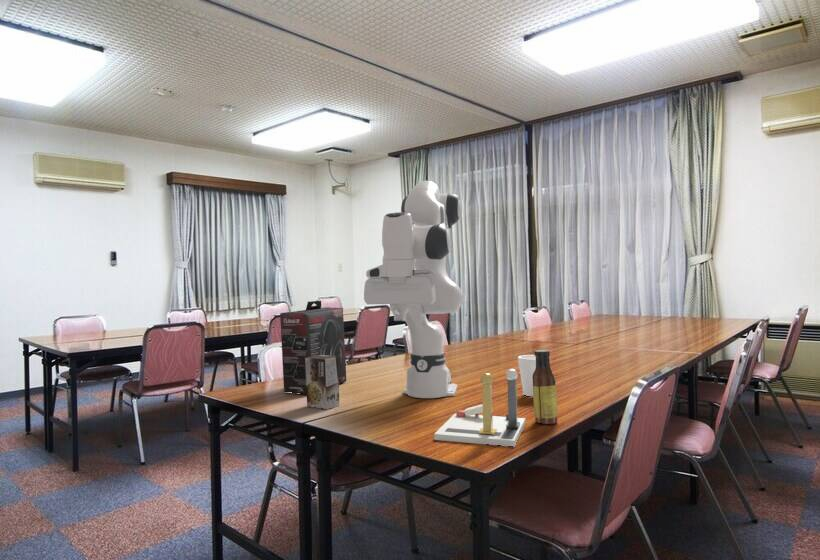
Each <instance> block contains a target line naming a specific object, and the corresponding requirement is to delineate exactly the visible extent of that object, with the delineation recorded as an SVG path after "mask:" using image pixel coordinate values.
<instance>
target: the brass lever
mask: <svg viewBox="0 0 820 560" xmlns="http://www.w3.org/2000/svg"><path fill="white" fill-rule="evenodd" d="M493 382H494V376H493V375H492V374H491V373H488V372H484V373H483V374H481V376H480V383H481V390H482V391H481V395H482V399H481V400H482V404H483V412H482V415H483V428H481V429H480V430H479V433H482V434H494V435H495V434H496V432H497V429H493V418H492V416H493V387H492V386H493V385H492V384H493Z"/></svg>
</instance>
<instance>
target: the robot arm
mask: <svg viewBox="0 0 820 560" xmlns="http://www.w3.org/2000/svg"><path fill="white" fill-rule="evenodd" d="M462 211H463V204H462V202H461V199H460V197H459V196H458V195H457V194H454V193H448V194H446V193H441V191H440V188H439V187H438V185H437V184H436V183H435V182H433V181H432V180H431V181H430V180H422V181H420V182H418V183H417V184H416V185H415V186H413V188H412V189H411V190H410V191H409V193H408V195H407V196H405V197H404V198H403V199H402V202H401V205H400V211H398V212H390V213H386V214H385V215H384V216H383V220H382V228H381V229H382V230H381V245H382V248H383V255H382V264H381V265H378V266H375V267H372V268H370V269H368V270H366V272H365V273H366V274H365V275H366V277H367V279H366V280H365V282H364V289H363V300H364V303H366V305H389V309H390V311H391V312H392V315H393V321H395V322H405V323H406V325H407V327H408V330H409V334H410V342H411V343H410V346H411V347H410V348H411V350H410V351H411V353H410V357H409V360H410V367H409V368H408V369H407V371H406V388H404V389H402V393H403V394H406V395H408V396H409V397H412V398H418V399H419V398H420V399H436V398H442V397H453V396H456V391H457V389H458V384H457V383H453V382H452V379H451V378H452V377H451V376H452V374H451V371H450V369H449V368H448V366H447V365H446V356H447V355H446V351H445V352H444V339H443V336H444V335H443V331H442V329H441V328H439V327H438V326H437V325H435V324H433V323H431V322H430V321H429V319H428V318H427V315H445V314H450V313H455V312H458V311H459V310H460V308H461V307H462V304H463V300H464V296H463V295H464V294H463V292H462V289H461V288H460V286H459V285H458V284H457V283H455V282H454V281H452V279H451V278H450V277H449V275H448V272H447V267H446V266H447V255H448V254H449V253H450V250H451V246H452V244H451V243H452V241H451V235H450V232H449V229H452V226H454V225H455V224H456V223H457V222H459V220H460V218H461V215H462Z"/></svg>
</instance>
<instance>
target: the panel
mask: <svg viewBox="0 0 820 560" xmlns="http://www.w3.org/2000/svg"><path fill="white" fill-rule="evenodd" d="M465 410H466V409H465ZM465 410H464V409H459V410H456V413H453V415H452V416H450V418H449V419H448V420H447V421H445V422H444V423H443V424H442V425H441V426H440V428H439V429H437V430H436V431H435V432H434V433H433V434H434V435H433V436H434V437H433V439H434V441H444V442H445V441H446V442H456V443H467V444H475V445H477V444H478V445H486V444H489V445H488V446H497V445H501V446H500V447H508V446H513V447H512V448H515V447H516V445H517V443H518V441H519V439H518V438H520V437H519V436H521V435H522V433H521V432H523V430H524V428H525V426H526V424H527V423H526V422H527V421H526V420H527V419H526V418H525V417H517V422H520V425H519V427H518V429H517V428H506V425H507V423H508V413H506V414H505V416H498V415H497V416H496V415H492V418H493V429H497V432H496V434H495V435H494V434H482V433H479V430H480V429H481V428H483V414H480V413H478V414H474V415H470V416H467V417H466V415H465V412H464V411H465ZM525 423H526V424H525ZM524 425H525V426H524ZM523 427H524V428H523ZM520 434H521V435H520ZM517 440H518V441H517ZM516 442H517V443H516Z"/></svg>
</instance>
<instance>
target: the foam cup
mask: <svg viewBox="0 0 820 560" xmlns="http://www.w3.org/2000/svg"><path fill="white" fill-rule="evenodd" d="M517 362H518V368H519V374H520V381H521V387H522V394H523V396H524V395H526V396H533V377H532V376H533V373H534V371H535V369H536V357H535V354H524V355H519V356H517ZM526 396H525V397H526Z"/></svg>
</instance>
